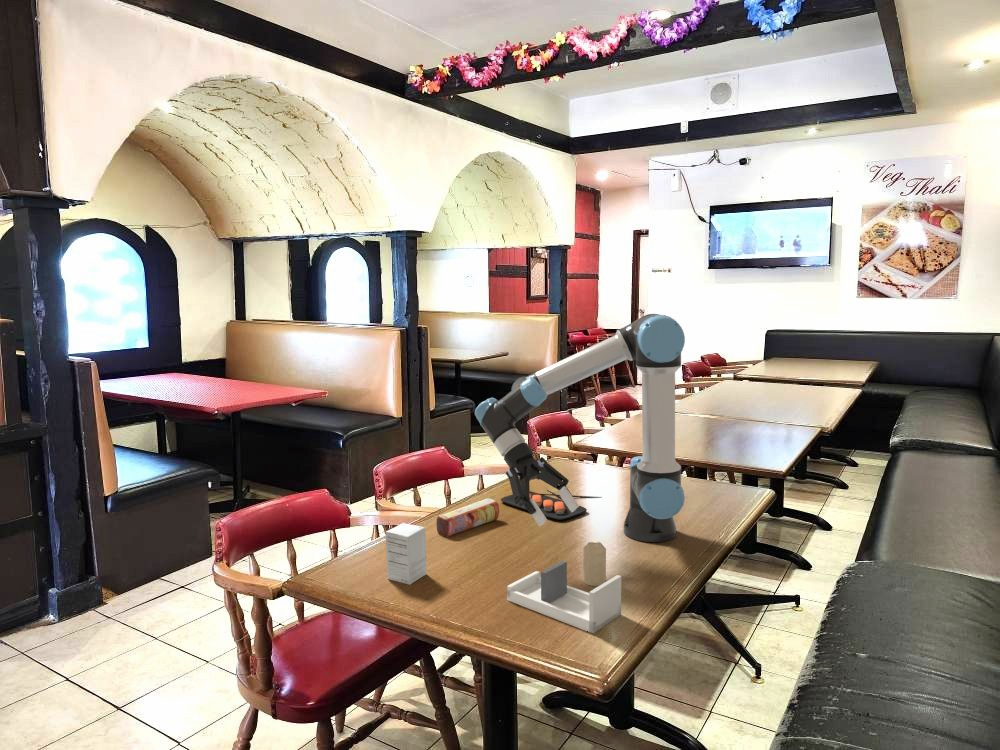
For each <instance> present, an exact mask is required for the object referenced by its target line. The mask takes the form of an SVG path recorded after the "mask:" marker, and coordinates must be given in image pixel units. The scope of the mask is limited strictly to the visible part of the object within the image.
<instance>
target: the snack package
mask: <svg viewBox="0 0 1000 750" xmlns="http://www.w3.org/2000/svg"><path fill="white" fill-rule="evenodd" d="M499 515H500V506H499V503H498V501H496V500H495V499H492V498H484V499H482V500H479V501H476V502H473V503H471V504H469V505H465V506H463V507H460V508H456V509H454V510H452V511H449V512H446V513H443V514H440V515H438V516H437V517H436V530H437V534H438V535H440V536H443V537H446V538H449V537H451V536H453V535H455V534H458V533H461V532H464V531H468V530H470V529H474V528H476V527H479V526H482V525H484V524H487V523H489V522H493V521H496V520H498V519H499Z"/></svg>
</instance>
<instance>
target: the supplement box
mask: <svg viewBox="0 0 1000 750" xmlns="http://www.w3.org/2000/svg"><path fill="white" fill-rule="evenodd" d="M426 545H427V544H426V527H424V526H422V525H421V526H419V525H414V524H409V523H405V522H402V523H400V524H398V525H396V526H394V527H393V528H391V529H389V530H386V531H385V551H386V553H385V554H386V569H387V570H386V573H387V574H386V575H387V576H386V578H387V579H388V580H391V581H394V582H397V583H401V584H405V585H412V584H413V583H415V582H416V581H418V580H419V579H421V578H422V577H424V576H426V575H427V574H428V571H427V570H428V569H427V568H428V567H427V546H426Z"/></svg>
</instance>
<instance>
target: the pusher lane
mask: <svg viewBox="0 0 1000 750" xmlns="http://www.w3.org/2000/svg"><path fill="white" fill-rule="evenodd" d="M506 599H507V601H509V602H510V603H513V604H515V605H518V606H521V607H524V608H526V609H528V610H531V611H534V612H536V613H539V614H542V615H544V616H546V617H549V618H552V619H555V620H557V621H559V622H561V623H565V624H567V625H570V626H573V627H575V628H577V629H580V630H582V631H585V632H587V631H588V633H590V634H593V633H594V634H595V633H596V632H598V631H599V630H600V629H603V628H604V627H605V626H607V625H609V624H610V623H611V622H612V621H614V620H615V619H617V618H618V617H620V616H621V614H622V575H619V574H616V575H615V576H613V577H611V578H610V579H608V580H606V582H605V583H603V584H602V585H600V586H596V587H595V588H593V589H592V590H590V591H589V592H587V591H585V590H582V589H579V588H577V587H576V588H575V587H573V586H569V585H567V594H565V595H563V596H561V597H560V598H558V599H556V600H555V601H553V602H551V603H547V602H544V601H542V600H541V572H540V571H538V570H535V571H534V572H533V571H532V572H531V573H529V574H528V575H526V576H523V577H522V578H520V579H518V580H516V581H514V582H512V583H510V584H509V585H507V586H506Z"/></svg>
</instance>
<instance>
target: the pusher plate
mask: <svg viewBox="0 0 1000 750" xmlns="http://www.w3.org/2000/svg"><path fill="white" fill-rule="evenodd" d="M540 576H541V600H542V601H544V602H547V603H551V602H553V601H555V600H556V599H558V598H560V597H561V596H563V595H565V594H567V586H568V562H567V561H565V560H561V561H559V562H557V563H555V564H553V565H552V566H550V567H547V568H546V569H543V570H541V572H540Z"/></svg>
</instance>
